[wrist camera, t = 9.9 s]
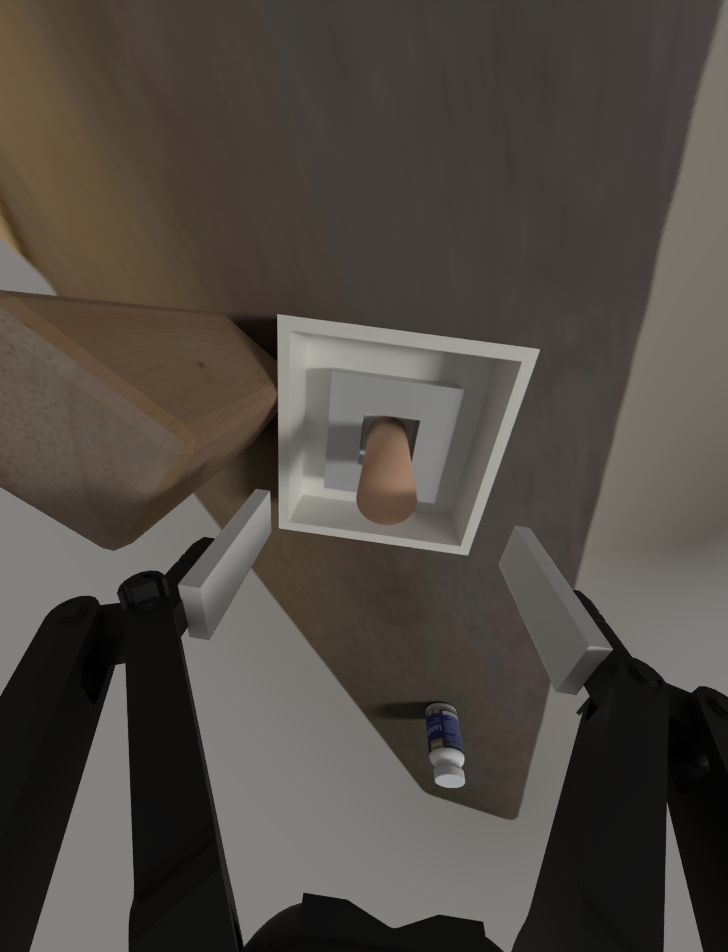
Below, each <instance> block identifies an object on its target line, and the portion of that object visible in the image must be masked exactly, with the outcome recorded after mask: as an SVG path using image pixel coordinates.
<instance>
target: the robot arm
mask: <svg viewBox="0 0 728 952" xmlns="http://www.w3.org/2000/svg"><path fill="white" fill-rule="evenodd" d="M270 533H271V507H270V491H267V490H260V489H255V491H254V492H253V493H252V494H251V496H250V497H249V498H248V499H247V500H246V502H245V503H244V504H243V505H242V507H241V508H240V509H239V510H238V511H237V513H236V514H235V515H234V516H233V518H232V519H231V520H230V521H229V523H228V524H227V525H226V526H225V527H224V529H223V530H222V531H221V532H220V534H219V535H218V536H217V537H216V538H215V539H214V538H207V537H203V538H202V539H200V540H198V541H197V542H195V543H193V544H192V545H191V547H190V548H189V549H188V550H187V551H186V552H185V554H183V555H182V556H181V558H180V559H179V561H178V562H176V563H175V564H174V565H173V566H172V568H171V569H170V570H169V571H168V572H167V573H166V574H165V575H164V574H163V573H161V572H159V571H145V572H141V573H138V574H135V575H133V576H131V577H130V578H128V579H127V580H125V581H124V582H123V583H122V584H121V585H120V587H119V589H118V592H117V594H118V597H119V600H120V603H114V604H106V605H100V604H99V602H98V600H97V599H96V598H95V597H92V596H79V597H76V598H72V599H69V600H67V601H65V602H63V603H61V604H59V605H58V606H56V607H55V608H54V609H52V610H51V611H50V612H49V614H48V615H47V616H46V617H45V619H44V620H43V622H42V624H41V626H40V628H39V629H38V631H37V633H36V635H35V636H34V638H33V640H32V642H31V643H30V645H29V647H28V649H27V650H26V652H25V654H24V656H23V657H22V659H21V661H20V663H19V664H18V666H17V668H16V670H15V671H14V673H13V675H12V677H11V678H10V680H9V682H8V684H7V686H6V687H5V689H4V691H3V693H2V694H1V696H0V952H29V951H30V947H31V944H32V941H33V937H34V934H35V930H36V927H37V924H38V920H39V917H40V914H41V910H42V907H43V904H44V901H45V897H46V894H47V891H48V887H49V884H50V880H51V877H52V874H53V871H54V867H55V864H56V861H57V857H58V854H59V851H60V847H61V844H62V841H63V838H64V834H65V831H66V827H67V824H68V821H69V817H70V814H71V811H72V808H73V804H74V801H75V798H76V794H77V791H78V788H79V784H80V781H81V778H82V774H83V771H84V768H85V764H86V761H87V758H88V754H89V751H90V748H91V745H92V741H93V738H94V735H95V731H96V728H97V725H98V721H99V718H100V715H101V711H102V708H103V705H104V701H105V698H106V695H107V691H108V688H109V685H110V681H111V678H112V675H113V671H114V668H115V665H117V664H123V663H126V689H127V715H128V740H129V766H130V790H131V817H132V842H133V867H134V899H133V903H132V906H131V910H130V916H129V952H503V951H502V950H501V949H500V948H499V947H498V946H497V945H496V944H495V943H493V942H492V941H491V940H490V939H488V938H487V937H485V930H484V924H483V922H481V921H475V920H469V919H462V918H456V917H451V916H444V915H436V916H433V917H430V918H427V919H424V920H421V921H418V922H414V923H412V924H409V925H405V926H402V927H399V928H391V927H389V926H387V925H385V924H384V923H382V922H381V921H379V920H378V919H376V918H375V917H373V916H371V915H370V914H368V913H367V912H365V911H364V910H362V909H361V908H359V907H357V906H356V905H354V904H353V903H351V902H350V901H348V900H345V899H339V898H332V897H327V896H321V895H314V894H308V893H304V894H303V899H302V903H300V904H297V905H294V906H290V907H289V908H287V909H285V910H283V911H281V912H279V913H278V914H277V915H275V916H274V917H272V918H271V919H270V920H268V921H267V922H266V923H265V924H264V925H263V926H262V927H261V928H260V929H259V930H258V931H257V932H256V933H255V934H254V935H253V937H252V938H251V939H250V940H249V941H248V943H247V944H246V945H245V946H244V945H243V940H242V935H241V930H240V925H239V920H238V916H237V910H236V905H235V901H234V896H233V891H232V887H231V882H230V878H229V874H228V869H227V864H226V860H225V854H224V849H223V845H222V839H221V834H220V829H219V825H218V819H217V814H216V810H215V804H214V799H213V794H212V789H211V785H210V779H209V775H208V770H207V765H206V760H205V755H204V750H203V745H202V740H201V735H200V730H199V725H198V720H197V715H196V710H195V705H194V700H193V695H192V690H191V685H190V680H189V675H188V670H187V665H186V660H185V655H184V651H183V645H182V640H181V636H182V635H183V633H184V632H185V630H186V629H187V627H188V631H189V636H190V637H194V638H200V639H207V640H210V638H211V637H212V635H213V633H214V631H215V630H216V628H217V626H218V624H219V623H220V621H221V619H222V617H223V616H224V614H225V612H226V610H227V609H228V607H229V605H230V603H231V602H232V600H233V598H234V596H235V595H236V593H237V591H238V589H239V587H240V586H241V584H242V582H243V580H244V579H245V577H246V575H247V574H248V572H249V570H250V568H251V567H252V565H253V563H254V561H255V560H256V558H257V556H258V554H259V553H260V551H261V549H262V547H263V546H264V544H265V542H266V540H267V539H268V537H269V535H270ZM498 565H499V568H500V570H501V572H502V574H503V576H504V579H505V581H506V583H507V585H508V587H509V590H510V592H511V594H512V596H513V598H514V601H515V603H516V605H517V607H518V610H519V612H520V614H521V616H522V618H523V621H524V623H525V625H526V627H527V629H528V632H529V634H530V636H531V638H532V640H533V643H534V645H535V647H536V649H537V652H538V654H539V656H540V658H541V660H542V663H543V665H544V667H545V669H546V671H547V674H548V676H549V678H550V680H551V683H552V685H553V687H554V689H555V691H556V692H560V693H568V694H574V695H577V693H578V692H579V691H580V690H581V688H582V687H583V686H585V688H586V690H587V692H588V694H589V696H590V697H589V698H588V699H587V700H586V701H585V703H584V704H583V705H582V706H581V707H580V708H579V710H578V711H577V714H578V715H580V714H581V713H582V712H583V713H582V717H581V720H580V724H579V728H578V732H577V735H576V739H575V743H574V746H573V750H572V754H571V758H570V761H569V765H568V769H567V773H566V776H565V780H564V784H563V787H562V791H561V795H560V799H559V802H558V806H557V810H556V814H555V817H554V821H553V825H552V829H551V832H550V836H549V840H548V844H547V847H546V851H545V855H544V858H543V863H542V866H541V870H540V873H539V877H538V881H537V885H536V888H535V892H534V896H533V899H532V903H531V907H530V910H529V913H528V916H527V918H526V921H525V923H524V924H523V926H522V928H521V930H520V932H519V933H518V935H517V938H516V940H515V943H514V945H513V948H512V951H511V952H663V948H664V903H665V858H666V857H665V856H666V813H667V803H668V807H669V811H670V816H671V820H672V824H673V828H674V832H675V836H676V840H677V845H678V848H679V853H680V857H681V861H682V865H683V870H684V874H685V877H686V882H687V886H688V890H689V894H690V899H691V902H692V907H693V911H694V915H695V919H696V923H697V927H698V932H699V936H700V940H701V944H702V948H703V952H728V697H727V696H725V695H724V694H722V693H720V692H718V691H717V690H714V689H712V688H709V687H706V686H699V687H698V688H697V689H696V690H694V691H693V692H692V693H690V692H687V691H685V690H682V689H680V688H678V687H675V686H673V685H670V684H668V683H666V682H665V681H664V680H663V678H662V677H661V676H660V675H659V674H658V673H657V672H656V671H655V670H654V669H653V668H652V667H650V666H649V665H647V664H646V663H644V662H642V661H640V660H638V659H636V658H633V657H632V656H631V655H630V654H629V652H628V651H627V649H626V648H625V647H624V645H623V644H622V643H621V641H620V640H619V639H618V637H617V636H616V635H615V633H614V632H613V630H612V629H611V628H610V626H609V625H608V624H607V623H606V621H605V619H604V618H603V617H602V615H601V614H599V611H598V610H597V608H596V607H595V606H594V604H593V603H592V602H591V600H589V599H588V598H587V597H586V596H585V595H584V594H583V593H581V592H580V591H578V590H572V589H571V587H570V586H569V584H568V583H567V581H566V580H565V579H564V577H563V576H562V574H561V573H560V571H559V570H558V568H557V567H556V565H555V564H554V563H553V561H552V560H551V558H550V557H549V555H548V554H547V552H546V551H545V550H544V548H543V547H542V545H541V544H540V542H539V541H538V539H537V538H536V536H535V535H534V534H533V532H532V531H531V529H530V528H527V527H520V526H515V527H514V529H513V532H512V534H511V536H510V539H509V541H508V543H507V546H506V548H505V550H504V553H503V555H502V557H501V560H500V562H499V564H498Z"/></svg>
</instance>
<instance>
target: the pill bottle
mask: <svg viewBox="0 0 728 952" xmlns="http://www.w3.org/2000/svg"><path fill="white" fill-rule="evenodd" d="M425 713H426V724H427V735H428V747H429V757H430V761H431V763H432V764H433V765H434V766H435V769H434V778H435V782H436V783H437V784H438V785H440V786H443V787H448V788H457V787H461V786H463V785H464V784H465V778H464V772H463V770H462V769H461V766H462V765H463V763H464V753H463V747H462V741H461V735H460V729H459V723H458V717H457V712H456V710H455V708H454V707H453V706H451V705H449V704H446V703H434V704H431V705H429V706H428V707H427V709H426V712H425Z"/></svg>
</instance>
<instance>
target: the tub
mask: <svg viewBox="0 0 728 952" xmlns="http://www.w3.org/2000/svg"><path fill="white" fill-rule="evenodd" d="M277 332H278V466H279V528H281V529H288V530H295V531H302V532H309V533H316V534H323V535H329V536H336V537H343V538H350V539H357V540H364V541H371V542H378V543H385V544H392V545H399V546H406V547H413V548H420V549H427V550H434V551H441V552H448V553H455V554H462V555H468V553H469V550H470V548H471V545H472V542H473V539H474V536H475V533H476V531H477V528H478V525H479V522H480V519H481V516H482V513H483V511H484V508H485V505H486V502H487V499H488V496H489V493H490V491H491V488H492V485H493V482H494V479H495V476H496V474H497V471H498V468H499V465H500V462H501V459H502V456H503V454H504V451H505V448H506V445H507V442H508V439H509V437H510V434H511V431H512V428H513V425H514V422H515V419H516V417H517V414H518V411H519V408H520V405H521V402H522V399H523V397H524V394H525V391H526V388H527V385H528V382H529V380H530V377H531V374H532V371H533V368H534V365H535V362H536V360H537V357H538V354H539V351H540V349H534V348H526V347H519V346H511V345H504V344H496V343H489V342H481V341H474V340H466V339H459V338H451V337H444V336H436V335H429V334H421V333H414V332H406V331H399V330H391V329H384V328H376V327H369V326H361V325H354V324H346V323H339V322H331V321H324V320H316V319H309V318H301V317H294V316H286V315H279V314H277ZM383 416H391V417H396V418H397V419H399V420H400V421H401V422H402V423H403V424H404V426H405V429H406V434H407V440H408V446H409V452H410V458H411V463H412V469H413V475H414V481H415V487H416V493H417V505H416V508H415V510H414V512H413V513H412V514H411V516H410V517H408V518H407V519H406V520H404V521H403V522H401V523H398V524H394V525H380V524H376V523H374V522H371V521H370V520H368V519H367V518H365V517H364V516H363V515H362V513H361V512H360V510H359V509H358V506H357V502H356V495H357V490H358V485H359V480H360V475H361V470H362V465H363V460H364V455H365V450H366V444H367V439H368V434H369V429H370V427H371V425H372V423H373V422H374V421H375V420H376V419H378V418H380V417H383Z"/></svg>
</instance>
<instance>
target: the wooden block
mask: <svg viewBox="0 0 728 952" xmlns="http://www.w3.org/2000/svg"><path fill="white" fill-rule="evenodd" d="M277 412H278V362H277V361H276V360H275V359H274V358H272V357H271V356H270V355H269V354H268V353H267V352H266V351H265V350H263V349H262V348H261V347H260V346H259V345H258V344H257V343H256V342H254V341H253V340H252V339H251V338H250V337H249V336H248V335H246V334H245V333H244V332H243V331H242V330H241V329H240V328H239V327H237V326H236V325H235V324H234V323H233V322H232V321H231V320H230V319H228V318H227V317H226V316H224V315H222V314H219V313H213V312H203V311H194V310H184V309H175V308H165V307H156V306H146V305H137V304H127V303H118V302H108V301H99V300H89V299H80V298H71V297H61V296H52V295H42V294H32V293H22V292H14V291H4V290H0V487H1V488H3V489H5V490H6V491H8V492H10V493H12V494H13V495H15V496H16V497H18V498H20V499H21V500H23V501H25V502H26V503H28V504H30V505H31V506H33V507H35V508H36V509H38V510H40V511H42V512H43V513H45V514H46V515H48V516H50V517H52V518H53V519H55V520H56V521H58V522H60V523H62V524H63V525H65V526H67V527H69V528H70V529H72V530H73V531H75V532H77V533H78V534H80V535H82V536H83V537H85V538H87V539H88V540H90V541H92V542H93V543H95V544H97V545H98V546H100V547H102V548H105V549H109V550H114V551H115V550H117V549H119V548H122V547H124V546H126V545H129V544H131V543H133V542H134V541H135V540H136V539H137V538H139V537H140V536H141V535H143V534H144V533H145V532H146V531H147V530H149V529H150V528H151V527H152V526H153V525H154V524H156V523H157V522H158V521H159V520H161V519H162V518H163V517H164V516H165V515H167V514H168V513H169V512H170V511H172V510H173V509H174V508H175V507H176V506H178V505H179V504H180V503H181V502H182V501H184V500H185V499H186V498H187V497H188V496H190V495H191V494H192V493H193V492H195V491H196V490H197V489H198V488H199V487H201V486H202V485H203V484H204V483H205V482H207V481H208V480H209V479H210V478H212V477H213V476H214V475H215V474H216V473H218V472H219V471H220V470H221V469H222V468H224V467H225V466H226V465H227V464H228V463H230V462H231V461H232V460H233V459H235V458H236V457H237V456H238V455H239V454H241V453H242V452H243V451H244V450H245V449H247V448H248V447H249V446H250V445H251V444H253V443H254V442H255V440H256V439H257V438H258V436H259V435H260V434H261V433H262V431H263V430H264V429H265V427H266V426H267V425H268V424H269V422H270V421H271V420H272V418H273V417H274V416H275V414H276V413H277Z"/></svg>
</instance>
